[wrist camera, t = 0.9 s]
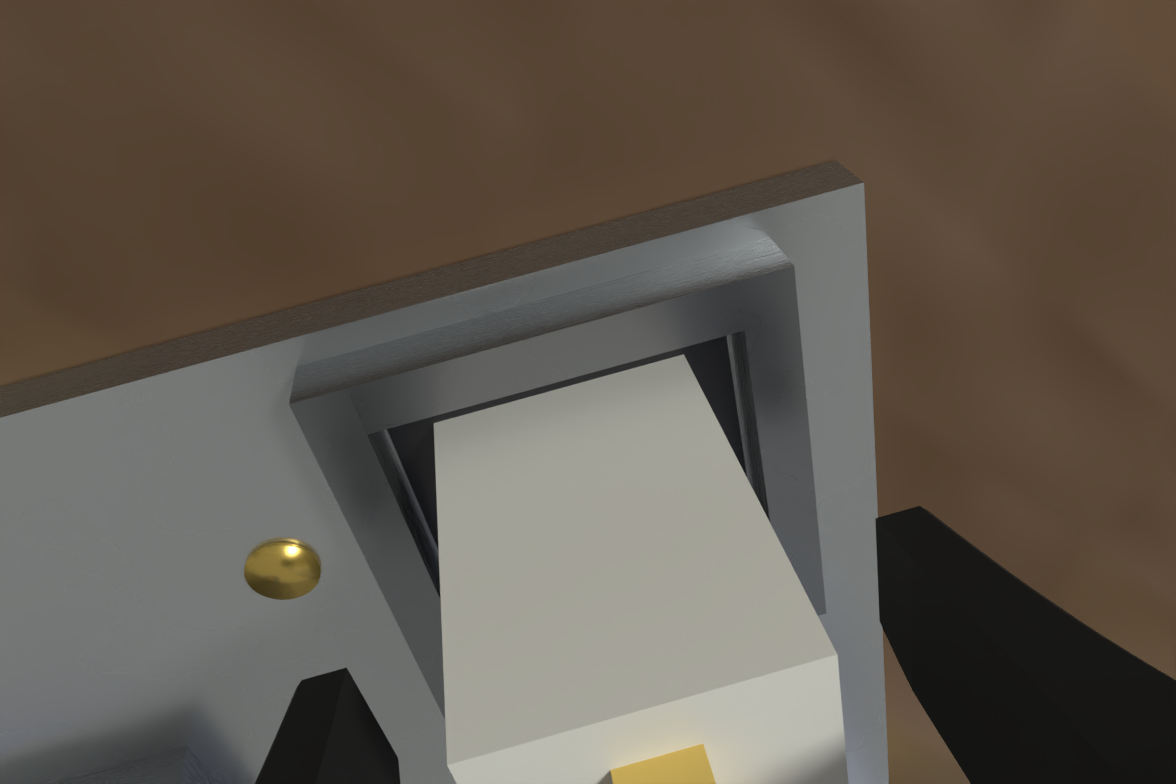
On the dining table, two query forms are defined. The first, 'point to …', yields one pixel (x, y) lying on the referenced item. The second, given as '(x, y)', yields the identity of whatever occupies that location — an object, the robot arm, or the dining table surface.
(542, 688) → the plug
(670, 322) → the switch plate
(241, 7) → the dining table surface
